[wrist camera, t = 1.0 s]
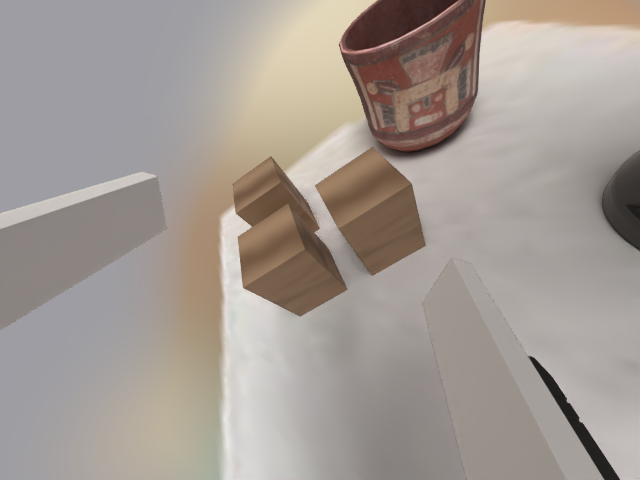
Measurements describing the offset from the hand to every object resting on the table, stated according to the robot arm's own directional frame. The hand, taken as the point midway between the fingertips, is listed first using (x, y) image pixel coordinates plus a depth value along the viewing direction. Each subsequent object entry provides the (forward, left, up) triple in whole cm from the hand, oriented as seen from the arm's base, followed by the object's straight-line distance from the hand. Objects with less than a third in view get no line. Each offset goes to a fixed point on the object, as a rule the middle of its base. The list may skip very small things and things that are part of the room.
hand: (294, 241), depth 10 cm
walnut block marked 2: (-11, -7, -22) cm, 25 cm away
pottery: (-34, -11, -22) cm, 42 cm away
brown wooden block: (-1, -14, -22) cm, 26 cm away
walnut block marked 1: (-9, -24, -22) cm, 34 cm away
